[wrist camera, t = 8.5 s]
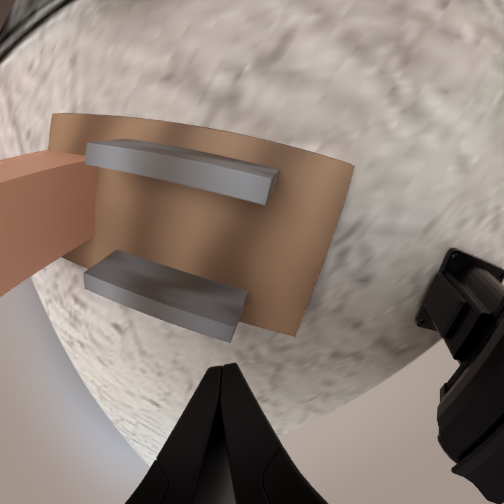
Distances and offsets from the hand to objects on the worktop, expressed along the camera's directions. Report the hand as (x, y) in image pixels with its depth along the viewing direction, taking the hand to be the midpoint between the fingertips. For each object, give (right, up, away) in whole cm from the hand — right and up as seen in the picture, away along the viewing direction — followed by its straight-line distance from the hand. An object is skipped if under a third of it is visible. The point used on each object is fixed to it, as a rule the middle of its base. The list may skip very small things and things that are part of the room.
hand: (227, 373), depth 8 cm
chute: (-5, +6, +11) cm, 14 cm away
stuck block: (-13, +8, +11) cm, 19 cm away
